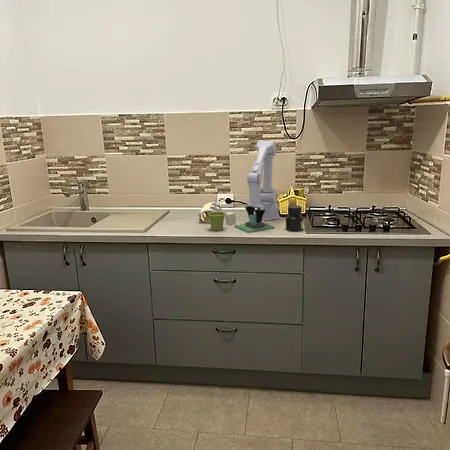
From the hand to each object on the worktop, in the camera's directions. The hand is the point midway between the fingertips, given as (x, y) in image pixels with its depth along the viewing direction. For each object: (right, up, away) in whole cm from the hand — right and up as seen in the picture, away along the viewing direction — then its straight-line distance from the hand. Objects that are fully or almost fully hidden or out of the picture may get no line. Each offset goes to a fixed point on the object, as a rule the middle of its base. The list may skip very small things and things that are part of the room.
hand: (255, 221), depth 224 cm
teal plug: (0, -3, +1) cm, 3 cm away
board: (0, -3, +2) cm, 4 cm away
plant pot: (-20, -5, +1) cm, 21 cm away
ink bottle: (+20, -5, -4) cm, 21 cm away
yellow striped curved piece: (-24, +1, +26) cm, 35 cm away
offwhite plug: (-13, -1, +12) cm, 18 cm away
